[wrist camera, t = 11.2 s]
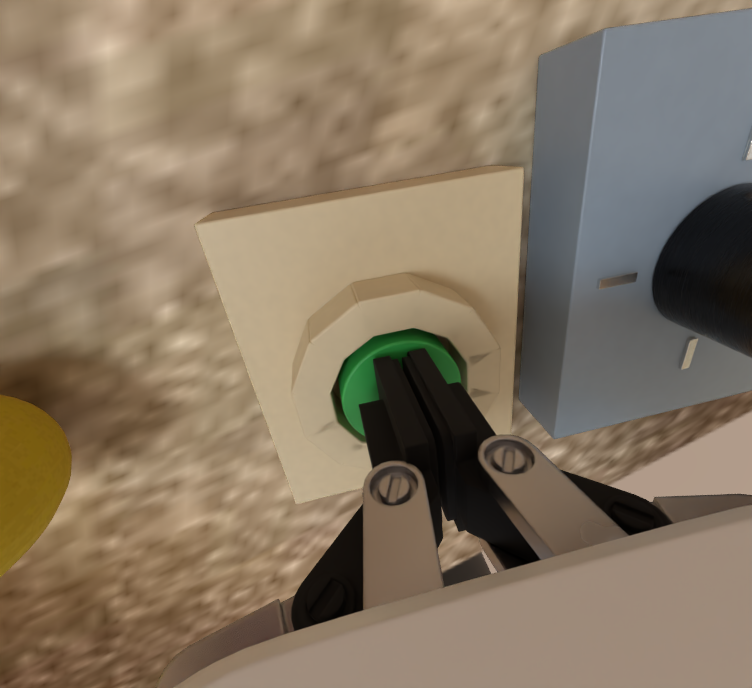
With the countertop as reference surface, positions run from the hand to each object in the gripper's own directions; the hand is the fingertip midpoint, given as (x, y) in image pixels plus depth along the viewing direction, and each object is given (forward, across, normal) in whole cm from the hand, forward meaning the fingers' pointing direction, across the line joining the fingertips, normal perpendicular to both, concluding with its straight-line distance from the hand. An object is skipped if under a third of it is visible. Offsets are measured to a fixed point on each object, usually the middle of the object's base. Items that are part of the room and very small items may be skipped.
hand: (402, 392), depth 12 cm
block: (+4, 0, 0) cm, 4 cm away
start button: (+2, 0, 0) cm, 2 cm away
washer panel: (+4, -12, -2) cm, 13 cm away
